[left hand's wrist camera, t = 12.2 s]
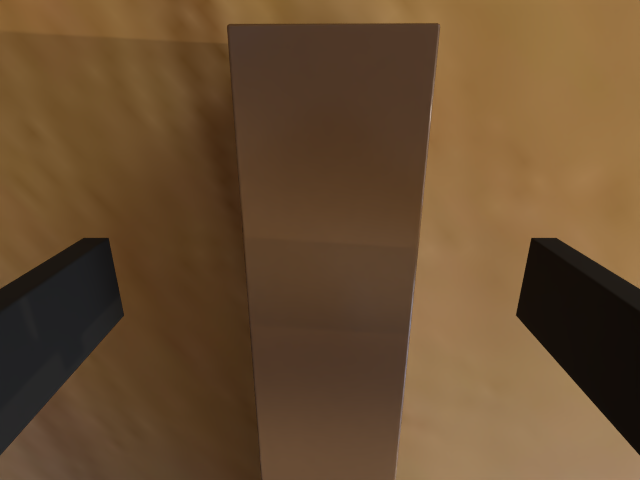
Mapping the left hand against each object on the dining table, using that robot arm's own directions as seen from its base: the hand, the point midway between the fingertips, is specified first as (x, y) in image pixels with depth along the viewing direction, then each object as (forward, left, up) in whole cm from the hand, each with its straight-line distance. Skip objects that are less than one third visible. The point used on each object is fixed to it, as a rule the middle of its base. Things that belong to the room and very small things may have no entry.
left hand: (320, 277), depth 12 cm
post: (+10, -28, -6) cm, 31 cm away
